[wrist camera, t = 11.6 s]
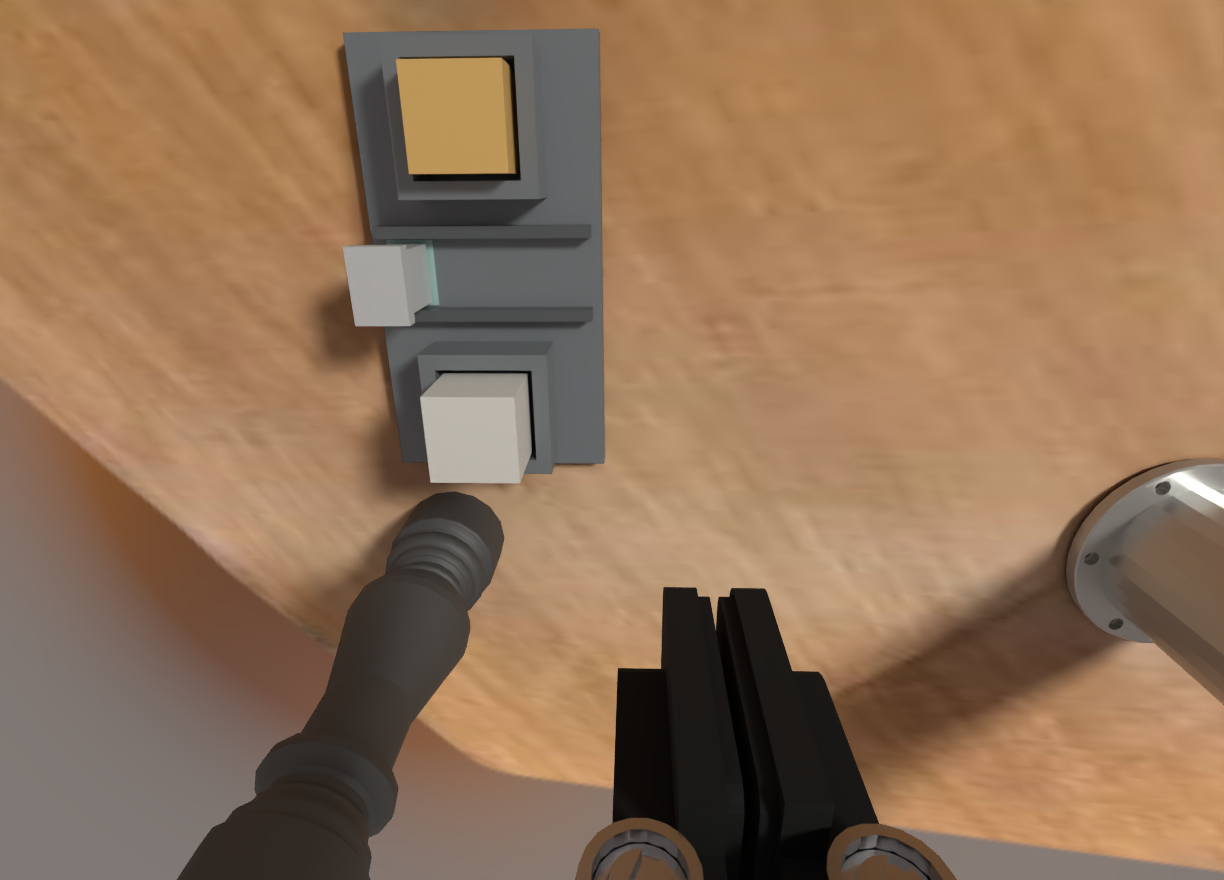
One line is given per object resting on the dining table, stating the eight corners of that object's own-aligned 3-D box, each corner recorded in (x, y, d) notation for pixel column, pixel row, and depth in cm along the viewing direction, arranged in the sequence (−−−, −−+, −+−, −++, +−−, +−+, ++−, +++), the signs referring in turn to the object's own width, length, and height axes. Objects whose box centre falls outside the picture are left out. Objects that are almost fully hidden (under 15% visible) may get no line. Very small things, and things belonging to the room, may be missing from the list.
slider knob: (430, 237, 33) (399, 246, 29) (438, 307, 35) (409, 326, 30) (380, 238, 33) (342, 246, 29) (390, 308, 35) (355, 326, 30)
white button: (527, 373, 34) (514, 397, 30) (531, 451, 35) (519, 483, 32) (443, 373, 34) (419, 397, 30) (452, 450, 35) (430, 482, 32)
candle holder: (410, 572, 43) (143, 1041, 19) (404, 488, 40) (92, 905, 17) (504, 579, 43) (348, 1056, 19) (503, 494, 40) (325, 921, 17)
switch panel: (599, 33, 31) (594, 12, 27) (604, 456, 39) (601, 485, 35) (351, 37, 31) (313, 17, 28) (408, 455, 39) (384, 484, 36)
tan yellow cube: (517, 72, 30) (501, 57, 27) (523, 174, 32) (508, 173, 28) (424, 73, 30) (395, 59, 27) (435, 174, 32) (408, 174, 28)
